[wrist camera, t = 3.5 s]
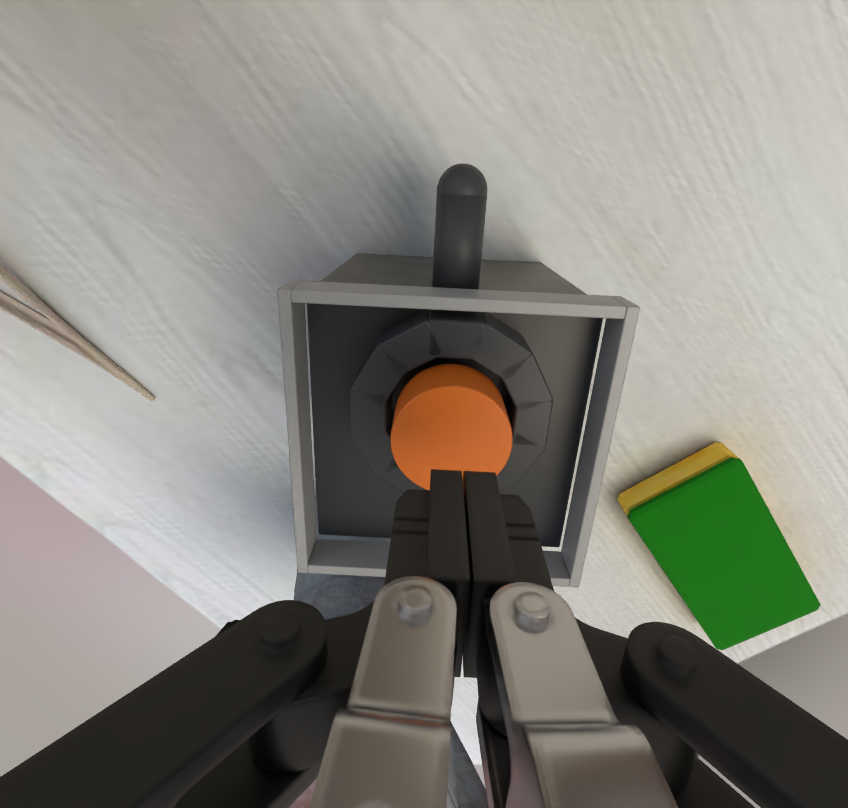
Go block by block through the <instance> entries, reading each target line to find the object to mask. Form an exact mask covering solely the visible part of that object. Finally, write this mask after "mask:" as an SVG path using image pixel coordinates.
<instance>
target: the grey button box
mask: <svg viewBox="0 0 848 808" xmlns="http://www.w3.org/2000/svg"><path fill="white" fill-rule="evenodd" d="M433 261H434V257H415V256H395V255H375V254H355V255H354V256H353V257H352V258H350V259H349V260H348V261H346V262H345V263H344V264H342V265H341V266H340V267H339V268H337V269H336V270H335V271H333V272H332V273H331V274H330V275H328V276H327V277H326V278H324V279H323V280H322V281H320V282H338V283H358V284H378V285H399V286H419V287H432V281H433ZM479 290H499V291H519V292H539V293H560V294H580V295H587V294H585V293H584V292H583V291H581V290H580V289H578V288H577V287H575V286H574V285H573V284H571V283H570V282H568V281H567V280H565V279H564V278H562V277H561V276H560V275H558V274H557V273H555V272H554V271H552V270H551V269H550V268H548V267H547V266H545V265H544V264H542V263H537V262H517V261H496V260H481V269H480V280H479ZM307 315H308V335H309V355H310V376H311V396H312V416H313V437H314V457H315V477H316V497H317V518H318V534H320V535H338V536H357V537H376V538H391V534H392V527H393V520H394V513H395V506H396V501H397V500H398V499H399V498H400V497H401V496H402V494H403V493H404V492H405V491H406V490H407V489H413V490H427V489H424V488H422V487H420V486H418V485H417V484H415V483H414V482H412V481H411V480H410V479H409V478H407V477H406V475H405V474H404V473H403V472H402V471H401V470H400V468H399V467H398V465H397V463H396V461H395V460H394V457H393V454H392V450H391V441H390V438H391V429H392V424H393V419H394V414H395V409H396V404H397V400H398V397H399V395H400V393H401V391H402V389H403V388H404V386H405V385H406V384H407V382H408V381H409V380H410V379H411V378H413V377H414V376H415V375H416V374H418V373H419V372H421V371H423V370H425V369H427V368H430V367H432V366H436V365H441V364H461V365H465V366H469V367H471V368H474V369H476V370H478V371H480V372H482V373H483V374H484V375H486V376H487V377H488V378H489V379H490V380H491V381H492V382H493V383H494V384H495V386H496V387H497V388H498V390H499V392H500V394H501V396H502V399H503V402H504V405H505V409H506V412H507V415H508V418H509V422H510V425H511V429H512V437H513V441H512V449H511V453H510V456H509V459H508V461H507V463H506V464H505V466H504V467H503V469H502V470H501V472H500V473H499V474H498V475H497V476H496V477H497V482H498V487H499V492H500V494H510V495H518V496H519V497H520V498H521V499H522V500H523V501H524V502H525V503H526V504H527V505H528V507H529V508H530V509H531V512H532V515H533V519H534V522H535V528H536V529H537V533H538V536H539V541H540V543H541V546H546V547H559V546H560V541H561V536H562V531H563V525H564V520H565V515H566V510H567V504H568V499H569V494H570V489H571V483H572V478H573V473H574V468H575V462H576V457H577V452H578V447H579V441H580V436H581V431H582V426H583V420H584V415H585V410H586V405H587V399H588V394H589V389H590V384H591V378H592V373H593V368H594V363H595V357H596V352H597V347H598V342H599V336H600V331H601V326H602V321H603V318H590V317H570V316H550V315H530V314H510V313H490V312H470V311H450V310H430V309H410V308H390V307H370V306H350V305H330V304H310V303H307Z"/></svg>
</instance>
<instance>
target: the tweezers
mask: <svg viewBox="0 0 848 808" xmlns="http://www.w3.org/2000/svg"><path fill="white" fill-rule="evenodd" d="M0 278H1V279H2V280H3V281H4V282H5V283H6V284H7V285H9V286H10V287H11V288H12V289H13V290H14V291H15V292H16V293H18V294H19V295H20V296H21V297H22V298H24V299H25V300H26V301H27V302H28V303H30V304H31V305H32V306H33V307H34V308H36V309H37V310H39V311H40V312H41V313H42V314H43V315H45V316H46V317H47V318H48V319H47V318H46V317H44V316H42V315H41V314H39V313H37V312H36V311H34V310H32V309H30V308H29V307H27V306H25V305H23V304H21V303H20V302H18V301H16V300H14V299H13V298H11V297H9V296H7V295H5V294H3V293H1V292H0V309H1V310H3V311H5V312H7V313H9V314H11V315H13V316H14V317H16V318H18V319H20V320H21V321H23V322H25V323H26V324H28V325H30V326H31V327H33V328H35V329H37V330H38V331H40V332H42V333H44V334H45V335H47V336H49V337H50V338H52V339H54V340H56V341H58V342H59V343H61V344H62V345H64V346H66V347H67V348H69V349H71V350H72V351H74V352H76V353H78V354H79V355H81V356H83V357H85V358H86V359H88V360H89V361H91V362H93V363H94V364H96V365H98V366H99V367H101V368H102V369H104V370H105V371H107V372H108V373H110V374H112V375H113V376H115V377H116V378H118V379H120V380H121V381H123V382H124V383H126V384H127V385H129V386H130V387H132V388H133V389H135V390H136V391H138V392H139V393H141V394H142V395H143V396H145V397H146V398H148V399H149V400H151V401H152V400H154V399H155V397H154V396H153V395H152V394H151V393H150V392H148V391H147V390H146V389H145V388H144V387H143V386H142V385H141V384H139V383H138V382H137V381H136V380H135V379H133V378H132V377H131V376H130V375H129V374H127V373H126V372H125V371H124V370H123V369H121V368H120V367H119V366H118V365H116V364H115V363H114V362H113V361H111V360H110V359H109V358H108V357H107V356H105V355H104V354H103V353H102V352H101V351H99V350H98V349H97V348H95V347H94V346H93V345H92V344H90V343H89V342H88V341H87V340H85V339H84V338H83V337H82V336H81V335H80V334H78V333H77V332H76V331H75V330H74V329H73V328H71V327H70V326H69V325H68V324H67V323H66V322H65V321H63V320H62V319H61V318H60V317H59V316H58V315H57V314H56V313H54V312H53V311H52V310H51V309H50V308H49V307H48V306H47V305H46V304H44V303H43V302H42V301H41V300H40V299H39V298H38V297H37V296H36V295H35V294H34V293H32V292H31V291H30V290H29V289H28V288H27V287H26V286H25V285H24V284H23V283H22V282H20V281H19V280H18V279H17V278H16V277H15V276H14V275H13V274H12V273H10V272H9V271H8V270H7V269H6V268H5V267H4V266H3V265H2V264H1V263H0Z"/></svg>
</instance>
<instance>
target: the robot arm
mask: <svg viewBox="0 0 848 808" xmlns="http://www.w3.org/2000/svg"><path fill="white" fill-rule="evenodd" d="M462 654H463V671H464V677H471V678H477V682H478V696H479V698H478V706H477V714H476V723H477V730H478V737H479V744H480V751H481V758H482V765H483V772H484V779H485V786H486V793H487V800H488V807H489V808H755V807H754V806H753V805H752V804H750V803H749V802H748V801H747V800H746V799H745V798H743V797H742V796H741V795H740V794H739V793H738V792H736V791H735V790H734V789H733V788H732V787H731V786H730V785H729V784H727V783H726V782H725V781H724V780H723V779H722V778H720V777H719V776H718V775H717V774H716V773H715V772H714V771H712V770H711V769H710V768H709V767H708V766H707V765H705V764H704V763H703V762H702V761H701V760H699V759H698V756H699V755H700V756H702V757H703V758H704V759H705V760H706V761H708V762H709V763H710V764H711V765H712V766H713V767H715V768H716V769H717V770H718V771H719V772H720V773H721V774H723V775H724V776H725V777H726V778H727V779H728V780H730V781H731V782H732V783H733V784H734V785H735V786H736V787H738V788H739V789H740V790H741V791H742V792H743V793H745V794H746V795H747V796H748V797H749V798H751V799H752V800H753V801H754V802H755V803H756V804H758V805H759V806H760V807H761V808H848V740H847V739H846V738H844V737H843V736H842V735H840V734H839V733H837V732H836V731H834V730H833V729H831V728H830V727H828V726H827V725H826V724H824V723H823V722H821V721H820V720H818V719H817V718H815V717H814V716H812V715H811V714H810V713H808V712H807V711H805V710H804V709H802V708H801V707H799V706H798V705H796V704H795V703H793V702H792V701H791V700H789V699H788V698H786V697H785V696H783V695H782V694H780V693H779V692H777V691H776V690H774V689H773V688H772V687H770V686H769V685H767V684H766V683H764V682H763V681H761V680H760V679H759V678H757V677H756V676H754V675H753V674H751V673H750V672H748V671H747V670H745V669H744V668H743V667H741V666H740V665H738V664H737V663H735V662H734V661H732V660H731V659H730V658H728V657H727V656H725V655H724V654H722V653H721V652H719V651H718V650H716V649H715V648H714V647H712V646H711V645H709V644H708V643H706V642H705V641H703V640H702V639H701V638H699V637H697V636H696V635H694V634H693V633H691V632H689V631H687V630H685V629H683V628H680V627H678V626H675V625H671V624H668V623H662V622H649V623H644V624H641V625H639V626H637V627H635V628H634V629H633V630H632V631H631V633H630V635H629V638H625V637H622V636H618V635H615V634H612V633H609V632H606V631H603V630H599V629H597V628H594V627H591V626H589V625H587V624H585V623H583V622H581V621H580V620H578V619H577V618H575V617H574V615H573V612H572V610H571V608H570V606H569V605H568V604H567V602H566V601H565V600H564V599H563V598H562V597H561V596H560V595H558V594H557V593H556V592H554V589H553V586H552V582H551V579H550V575H549V571H548V568H547V564H546V561H545V557H544V554H543V550H542V547H541V543H540V541H539V536H538V533H537V529H536V528H535V522H534V519H533V515H532V512H531V509H530V508H529V507H528V505H527V504H526V503H525V502H524V501H523V500H522V499H521V498H520V497H519V496H518V495H510V494H500V492H499V487H498V482H497V477H496V473H495V472H480V471H464V472H463V480H462V471H459V470H440V469H431V475H430V490H413V489H407V490H406V491H405V492H404V493H403V494H402V496H401V497H400V498H399V499H398V500H397V501H396V506H395V513H394V520H393V527H392V534H391V541H390V548H389V555H388V562H387V569H386V576H385V582H384V586H383V588H382V589H381V590H380V591H379V592H378V594H377V596H376V598H375V600H374V601H373V602H372V603H371V604H369V605H368V606H367V607H365V608H363V609H361V610H359V611H357V612H355V613H352V614H348V615H344V616H340V617H335V618H330V619H326V620H325V619H324V617H323V615H322V614H321V612H320V611H319V610H318V609H317V608H315V607H314V606H312V605H310V604H308V603H305V602H301V601H295V600H284V601H277V602H274V603H270V604H267V605H265V606H263V607H261V608H259V609H257V610H255V611H254V612H252V613H251V614H249V615H248V616H246V617H245V618H243V619H242V620H240V621H239V622H237V623H236V624H234V625H232V626H231V627H229V628H228V629H226V630H225V631H223V632H222V633H220V634H219V635H217V636H216V637H214V638H213V639H211V640H209V641H208V642H207V643H205V644H203V645H202V646H200V647H199V648H197V649H196V650H194V651H193V652H191V653H190V654H188V655H187V656H185V657H183V658H182V659H180V660H179V661H178V662H176V663H174V664H173V665H171V666H170V667H168V668H167V669H165V670H164V671H162V672H161V673H159V674H158V675H156V676H154V677H153V678H151V679H150V680H148V681H147V682H145V683H144V684H142V685H141V686H139V687H138V688H136V689H134V690H133V691H131V692H130V693H128V694H127V695H125V696H124V697H122V698H121V699H119V700H118V701H116V702H115V703H113V704H112V705H110V706H108V707H107V708H105V709H104V710H102V711H101V712H99V713H98V714H96V715H95V716H93V717H92V718H90V719H89V720H87V721H86V722H84V723H83V724H81V725H79V726H78V727H76V728H75V729H73V730H72V731H70V732H69V733H67V734H66V735H64V736H62V737H61V738H60V739H58V740H56V741H55V742H53V743H52V744H50V745H49V746H47V747H46V748H44V749H43V750H41V751H40V752H38V753H36V754H35V755H33V756H32V757H30V758H29V759H27V760H26V761H24V762H23V763H21V764H20V765H18V766H17V767H15V768H13V769H12V770H10V771H9V772H7V773H6V774H4V775H3V776H1V777H0V808H289V807H290V806H291V805H292V804H293V802H294V801H295V800H296V799H297V798H298V797H299V796H300V795H301V794H302V793H303V792H304V791H305V790H306V789H307V788H308V787H309V786H310V785H311V784H312V783H313V782H314V781H315V780H316V779H317V781H316V784H315V788H314V792H313V795H312V799H311V802H310V806H309V808H446V806H447V788H448V771H449V753H450V734H451V721H450V716H451V706H452V698H453V687H454V677H460V674H461V664H462Z"/></svg>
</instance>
